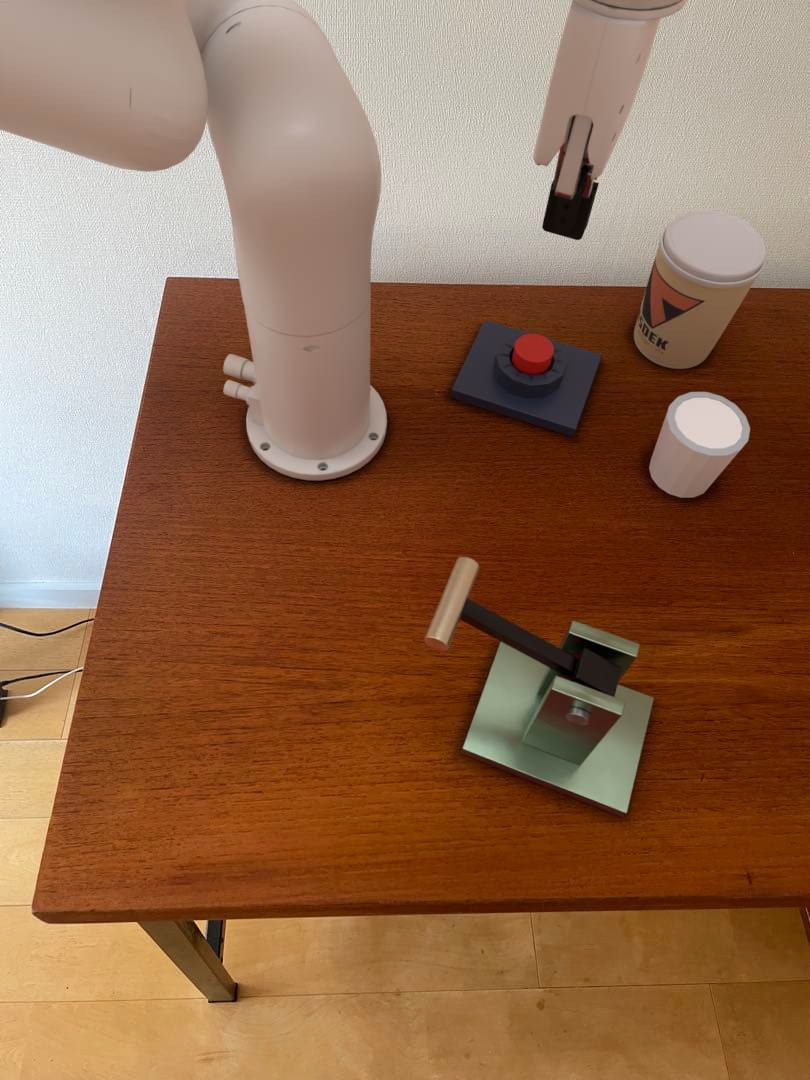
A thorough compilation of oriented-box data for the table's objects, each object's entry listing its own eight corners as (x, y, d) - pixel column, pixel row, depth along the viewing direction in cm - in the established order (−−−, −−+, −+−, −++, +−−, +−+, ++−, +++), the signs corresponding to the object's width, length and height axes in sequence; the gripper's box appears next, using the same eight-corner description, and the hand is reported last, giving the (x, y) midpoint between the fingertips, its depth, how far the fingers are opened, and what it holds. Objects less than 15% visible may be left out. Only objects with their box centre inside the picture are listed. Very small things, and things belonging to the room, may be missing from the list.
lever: (417, 643, 49) (431, 632, 47) (450, 564, 52) (465, 550, 50) (586, 733, 50) (607, 726, 48) (608, 651, 53) (629, 641, 51)
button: (506, 368, 74) (509, 355, 72) (518, 342, 76) (521, 328, 74) (544, 380, 73) (547, 366, 72) (554, 354, 75) (558, 340, 74)
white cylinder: (658, 430, 74) (684, 378, 68) (728, 462, 73) (761, 412, 67) (630, 481, 71) (654, 431, 65) (703, 516, 69) (735, 468, 63)
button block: (450, 398, 75) (453, 375, 73) (483, 328, 80) (487, 305, 78) (573, 437, 73) (580, 416, 71) (599, 363, 78) (607, 341, 76)
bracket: (460, 753, 58) (480, 695, 48) (498, 647, 62) (524, 573, 52) (622, 817, 56) (679, 771, 46) (649, 702, 60) (706, 637, 50)
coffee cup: (609, 317, 82) (644, 216, 71) (690, 301, 83) (736, 200, 73) (650, 384, 77) (694, 285, 67) (735, 365, 79) (790, 266, 69)
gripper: (599, -102, 51) (544, 164, 66) (533, 4, 43) (488, 275, 59) (716, -77, 50) (631, 187, 65) (668, 37, 42) (586, 304, 58)
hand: (563, 229), depth 62 cm, fingers closed
